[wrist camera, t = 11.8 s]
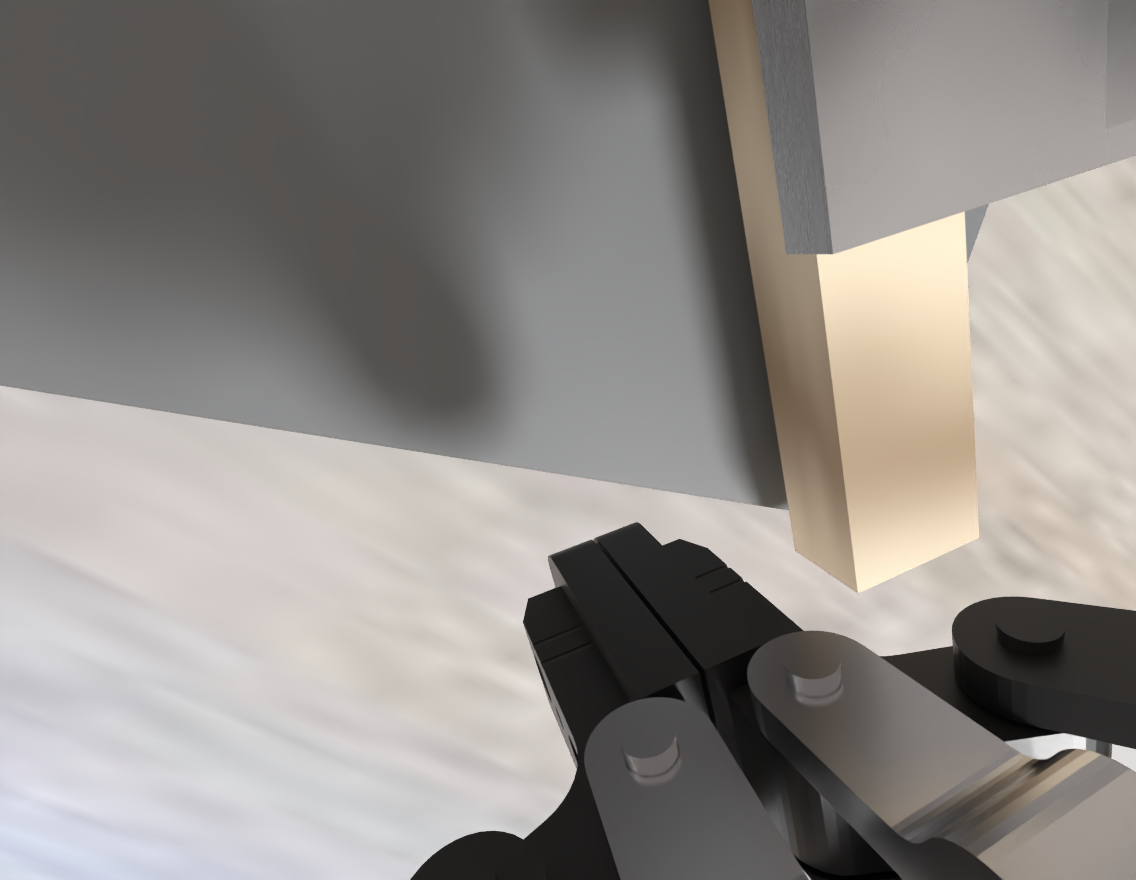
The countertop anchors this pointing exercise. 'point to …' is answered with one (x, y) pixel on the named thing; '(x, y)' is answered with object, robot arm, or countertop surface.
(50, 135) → the board
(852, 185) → the block
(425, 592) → the countertop surface
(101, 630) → the countertop surface
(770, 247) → the latch bar
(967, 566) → the countertop surface
